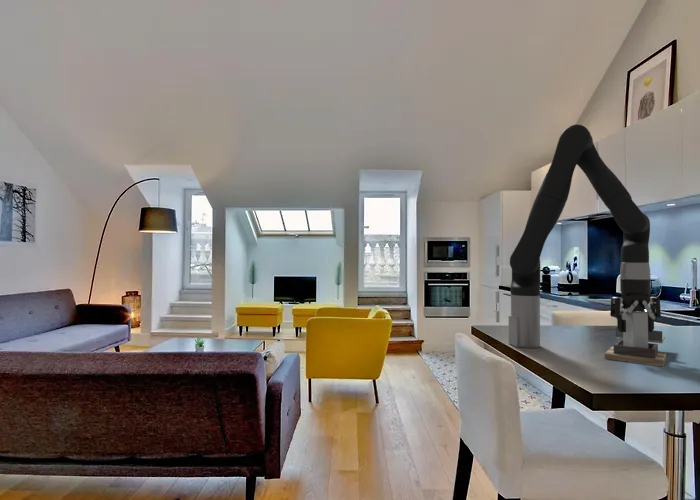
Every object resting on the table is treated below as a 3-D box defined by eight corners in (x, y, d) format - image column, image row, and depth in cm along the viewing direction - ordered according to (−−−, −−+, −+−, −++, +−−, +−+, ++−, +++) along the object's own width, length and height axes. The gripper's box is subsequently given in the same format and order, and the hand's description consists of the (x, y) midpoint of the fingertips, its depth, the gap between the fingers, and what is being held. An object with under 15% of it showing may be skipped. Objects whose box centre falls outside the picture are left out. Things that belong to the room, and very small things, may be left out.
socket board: (663, 366, 116) (663, 351, 116) (604, 358, 125) (604, 345, 125) (666, 357, 127) (666, 343, 127) (612, 350, 136) (612, 338, 136)
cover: (662, 343, 127) (662, 331, 127) (615, 338, 135) (615, 327, 135) (665, 337, 136) (664, 326, 136) (621, 333, 144) (621, 322, 144)
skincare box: (649, 354, 123) (648, 313, 123) (633, 354, 123) (632, 313, 123) (637, 350, 129) (637, 310, 129) (622, 349, 129) (622, 310, 129)
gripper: (647, 277, 131) (647, 329, 130) (604, 277, 129) (604, 330, 129) (667, 278, 123) (668, 333, 123) (621, 278, 122) (622, 334, 122)
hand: (635, 331), depth 126 cm, fingers open, 8 cm apart
